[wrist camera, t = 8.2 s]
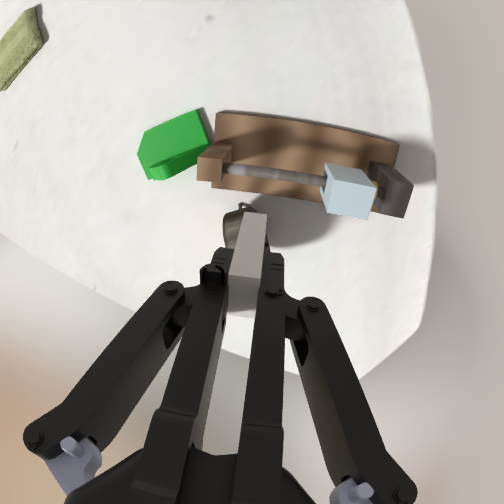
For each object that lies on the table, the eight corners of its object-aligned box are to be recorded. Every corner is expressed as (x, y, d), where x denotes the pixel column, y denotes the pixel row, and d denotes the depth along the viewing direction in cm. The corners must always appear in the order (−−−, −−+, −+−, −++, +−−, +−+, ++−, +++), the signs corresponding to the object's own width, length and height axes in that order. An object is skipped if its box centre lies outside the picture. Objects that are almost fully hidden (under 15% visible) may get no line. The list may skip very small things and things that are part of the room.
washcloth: (-7, 55, 29) (-16, 56, 26) (37, 4, 25) (27, 3, 22) (3, 95, 36) (-7, 98, 33) (48, 46, 31) (37, 46, 28)
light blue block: (319, 190, 37) (327, 212, 31) (325, 162, 35) (334, 179, 29) (354, 196, 37) (367, 219, 31) (361, 169, 35) (376, 188, 29)
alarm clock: (228, 199, 47) (206, 254, 33) (259, 191, 45) (250, 244, 32) (249, 253, 52) (237, 319, 39) (277, 247, 51) (275, 313, 37)
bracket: (197, 108, 39) (183, 113, 33) (214, 153, 43) (204, 165, 37) (134, 137, 42) (113, 146, 36) (151, 177, 46) (134, 191, 40)
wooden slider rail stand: (212, 185, 45) (196, 212, 37) (217, 112, 39) (199, 121, 30) (378, 210, 45) (399, 241, 36) (396, 143, 38) (425, 161, 29)
